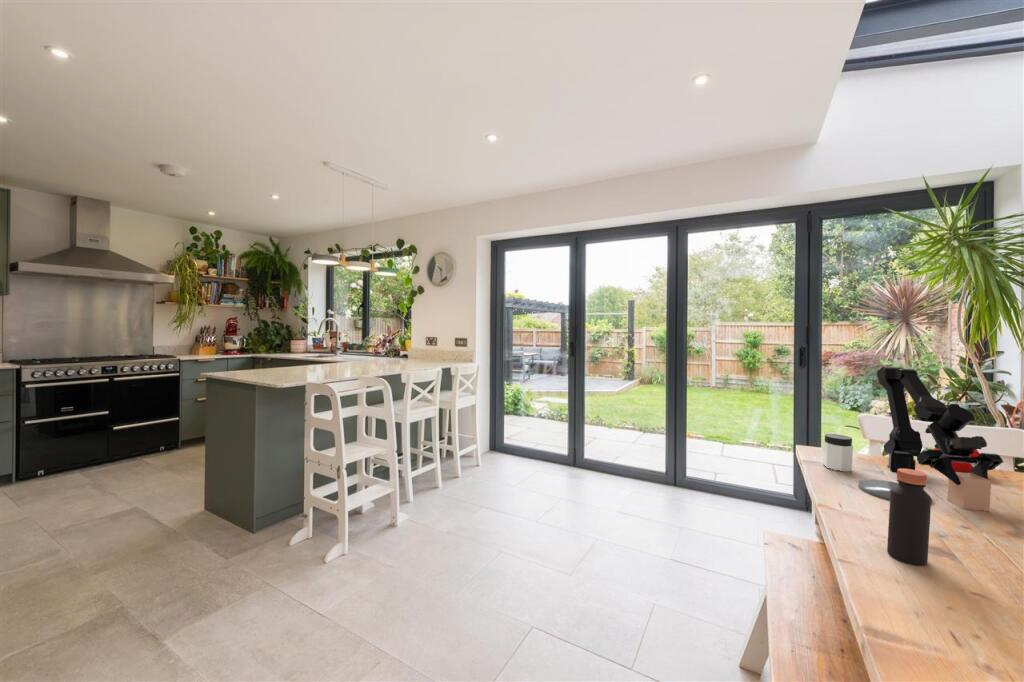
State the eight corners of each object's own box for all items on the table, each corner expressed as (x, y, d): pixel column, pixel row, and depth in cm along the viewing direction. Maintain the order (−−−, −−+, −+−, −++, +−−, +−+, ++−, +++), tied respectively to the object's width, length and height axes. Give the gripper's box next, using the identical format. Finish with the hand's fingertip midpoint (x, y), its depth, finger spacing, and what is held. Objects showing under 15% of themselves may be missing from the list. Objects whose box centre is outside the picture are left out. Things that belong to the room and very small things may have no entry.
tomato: (987, 479, 148) (989, 450, 148) (939, 472, 155) (940, 444, 154) (972, 468, 160) (973, 441, 159) (927, 462, 166) (929, 436, 166)
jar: (854, 469, 157) (856, 437, 157) (848, 473, 152) (850, 440, 152) (825, 462, 164) (827, 432, 164) (819, 466, 159) (820, 435, 158)
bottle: (914, 568, 92) (919, 478, 91) (879, 552, 99) (884, 468, 98) (935, 563, 94) (940, 475, 93) (899, 548, 101) (904, 465, 100)
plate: (863, 495, 132) (863, 492, 132) (853, 479, 146) (854, 475, 146) (938, 509, 123) (938, 505, 123) (920, 489, 138) (920, 486, 138)
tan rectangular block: (947, 500, 130) (948, 471, 129) (971, 502, 128) (973, 473, 128) (963, 508, 124) (964, 478, 123) (989, 511, 122) (991, 480, 122)
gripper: (925, 423, 131) (950, 469, 121) (1000, 427, 127) (1032, 476, 116) (906, 441, 139) (928, 486, 129) (976, 446, 134) (1005, 493, 124)
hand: (972, 485), depth 124 cm, fingers closed on tan rectangular block, 6 cm apart
